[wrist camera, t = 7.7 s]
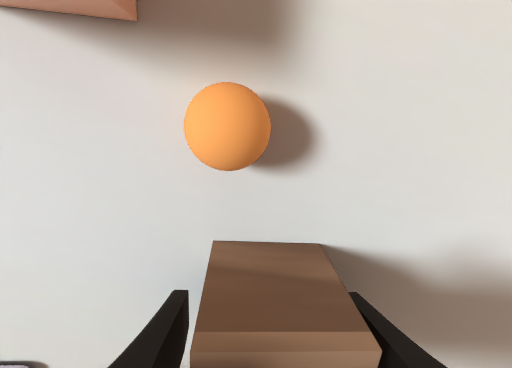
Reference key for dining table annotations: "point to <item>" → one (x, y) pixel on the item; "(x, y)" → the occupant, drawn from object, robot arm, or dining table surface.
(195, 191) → the dining table surface
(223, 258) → the brown block
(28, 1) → the salmon pink block
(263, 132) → the orange ball
